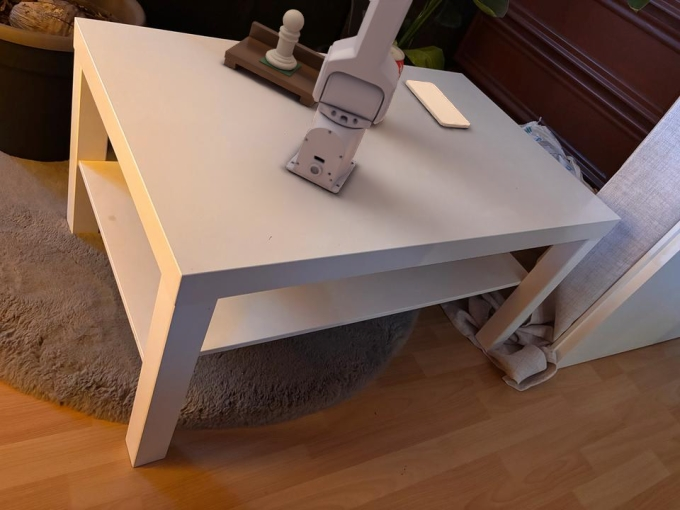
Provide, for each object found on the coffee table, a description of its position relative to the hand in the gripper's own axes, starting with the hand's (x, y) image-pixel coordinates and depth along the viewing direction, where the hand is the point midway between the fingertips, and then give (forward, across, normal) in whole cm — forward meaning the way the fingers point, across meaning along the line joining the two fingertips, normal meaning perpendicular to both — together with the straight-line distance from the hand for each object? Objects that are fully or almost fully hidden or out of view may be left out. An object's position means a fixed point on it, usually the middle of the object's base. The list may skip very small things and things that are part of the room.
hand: (358, 46), depth 92 cm
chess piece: (+7, -2, -11) cm, 13 cm away
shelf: (+9, -2, -11) cm, 15 cm away
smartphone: (+9, -5, +21) cm, 24 cm away
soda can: (+9, +5, +3) cm, 11 cm away
